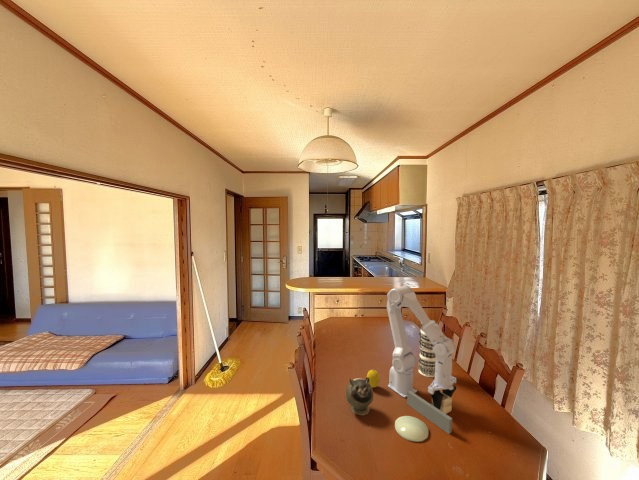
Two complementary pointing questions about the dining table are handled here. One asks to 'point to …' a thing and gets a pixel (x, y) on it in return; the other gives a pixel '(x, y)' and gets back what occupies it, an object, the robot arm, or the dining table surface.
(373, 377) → the lemon
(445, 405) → the cube
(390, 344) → the dining table surface
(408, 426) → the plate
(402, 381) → the robot arm
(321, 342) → the dining table surface
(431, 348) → the decorative candle
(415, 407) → the grey rectangular bar
